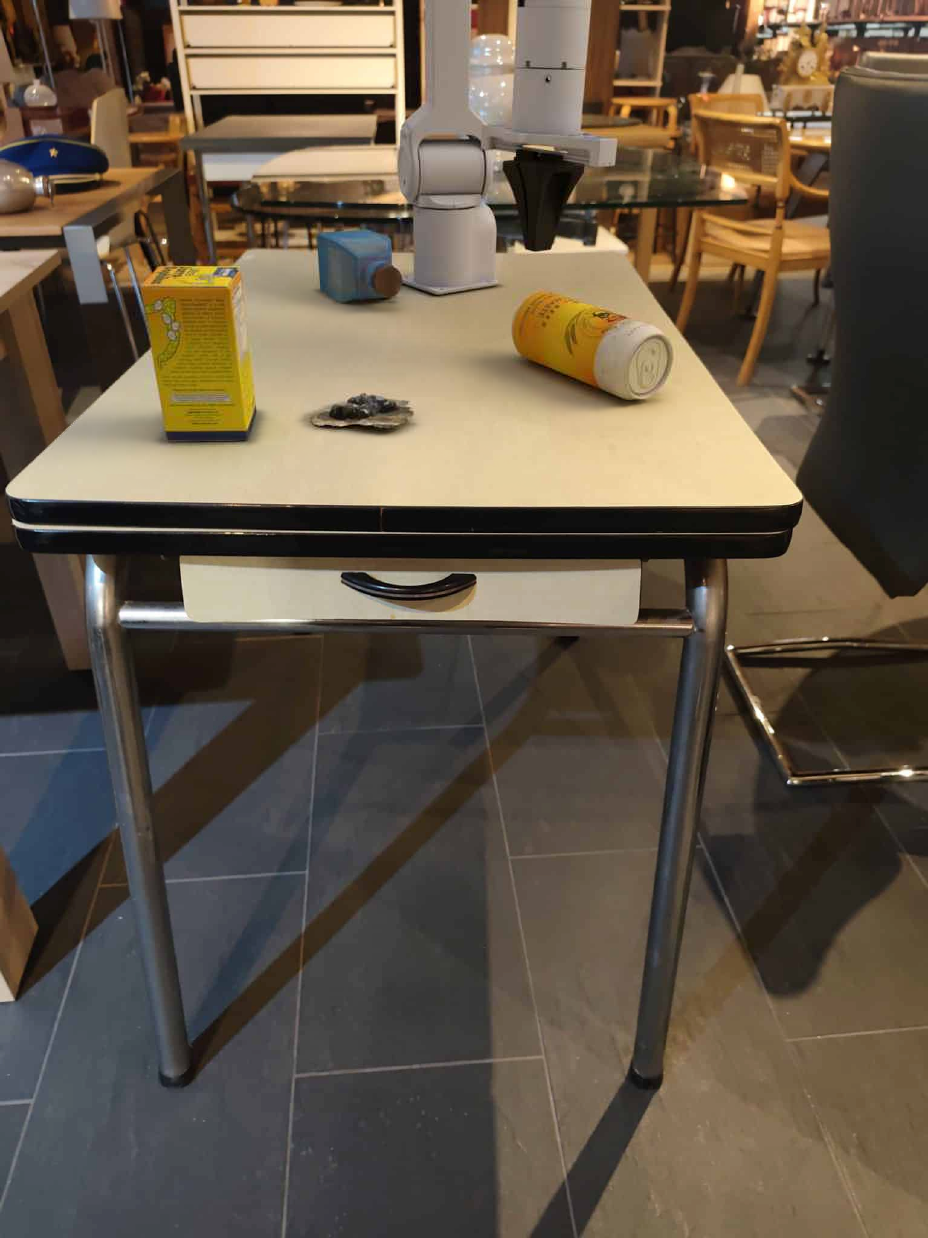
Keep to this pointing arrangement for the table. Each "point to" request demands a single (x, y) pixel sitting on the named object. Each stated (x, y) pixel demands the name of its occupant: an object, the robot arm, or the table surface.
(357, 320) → the table surface
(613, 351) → the beer can
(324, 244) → the perfume bottle
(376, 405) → the grey flat lumpy piece
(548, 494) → the table surface
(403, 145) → the robot arm
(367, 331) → the table surface
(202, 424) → the supplement box
